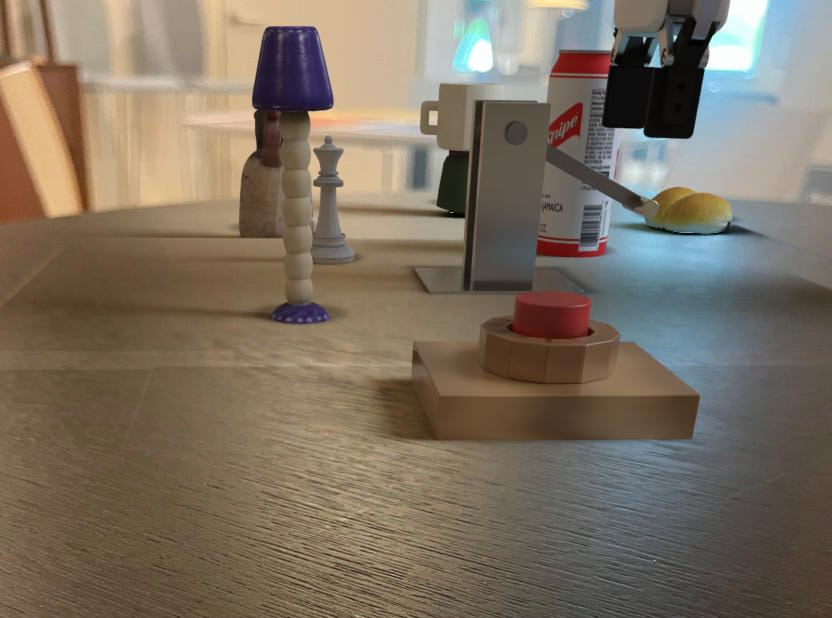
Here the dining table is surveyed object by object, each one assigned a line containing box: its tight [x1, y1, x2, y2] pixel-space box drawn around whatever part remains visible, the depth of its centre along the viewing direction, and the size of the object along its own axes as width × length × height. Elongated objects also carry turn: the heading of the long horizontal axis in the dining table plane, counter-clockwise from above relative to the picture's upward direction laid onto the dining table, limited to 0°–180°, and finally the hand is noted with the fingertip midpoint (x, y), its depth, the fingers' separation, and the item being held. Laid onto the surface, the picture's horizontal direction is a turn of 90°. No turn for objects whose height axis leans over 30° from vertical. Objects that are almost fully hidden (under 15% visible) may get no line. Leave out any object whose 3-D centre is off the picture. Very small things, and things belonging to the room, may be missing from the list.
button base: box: [410, 314, 701, 442], centre depth 50 cm, size 12×10×4 cm
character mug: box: [419, 82, 506, 213], centre depth 112 cm, size 11×7×13 cm, turn 76°
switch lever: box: [480, 136, 659, 219], centre depth 72 cm, size 13×5×2 cm, turn 94°
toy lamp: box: [251, 25, 335, 325], centre depth 60 cm, size 5×5×17 cm
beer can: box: [536, 49, 623, 259], centre depth 84 cm, size 6×6×16 cm
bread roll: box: [643, 186, 733, 233], centre depth 107 cm, size 8×9×4 cm
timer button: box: [512, 291, 592, 339], centre depth 49 cm, size 4×4×2 cm
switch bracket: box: [414, 99, 586, 296], centre depth 73 cm, size 11×9×13 cm
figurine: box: [238, 109, 317, 240], centre depth 93 cm, size 7×7×12 cm
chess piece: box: [310, 134, 356, 265], centre depth 80 cm, size 4×4×10 cm
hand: (643, 132), depth 71 cm, fingers open, 9 cm apart
